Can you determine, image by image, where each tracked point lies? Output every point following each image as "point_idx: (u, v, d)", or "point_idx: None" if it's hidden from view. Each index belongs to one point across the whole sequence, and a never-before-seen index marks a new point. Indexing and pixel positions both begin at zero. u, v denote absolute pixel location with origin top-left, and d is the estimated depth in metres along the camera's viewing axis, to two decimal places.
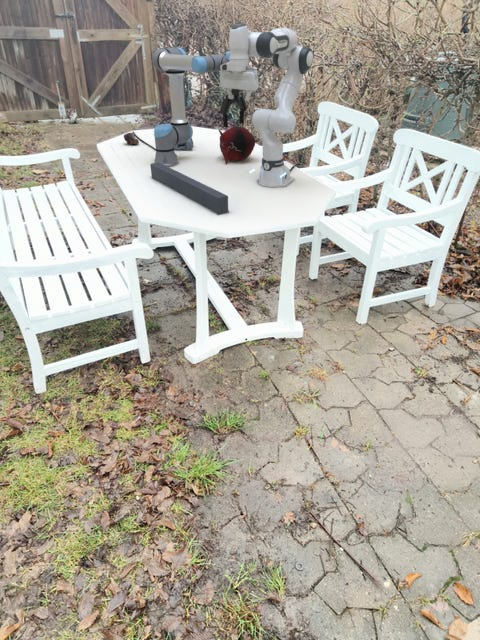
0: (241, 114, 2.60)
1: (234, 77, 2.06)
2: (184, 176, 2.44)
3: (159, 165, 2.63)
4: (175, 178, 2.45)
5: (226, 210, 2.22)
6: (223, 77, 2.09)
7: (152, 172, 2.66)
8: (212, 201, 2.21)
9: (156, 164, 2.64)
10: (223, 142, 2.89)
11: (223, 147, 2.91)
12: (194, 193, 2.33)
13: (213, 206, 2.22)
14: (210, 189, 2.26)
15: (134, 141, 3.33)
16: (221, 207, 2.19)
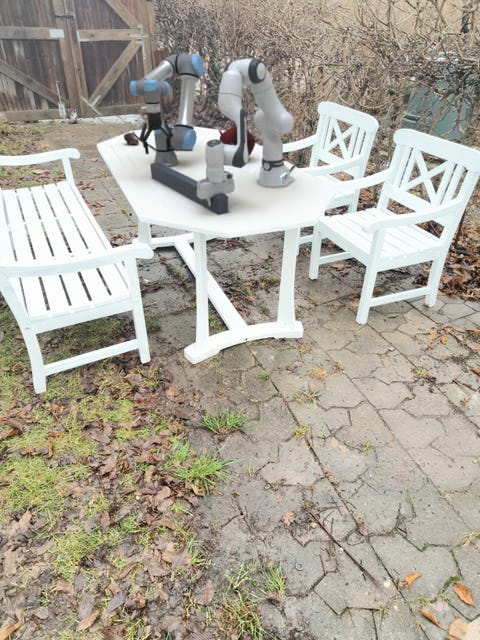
0: (167, 141, 2.58)
1: None
2: (184, 176, 2.44)
3: (159, 165, 2.62)
4: (175, 178, 2.45)
5: (226, 210, 2.22)
6: None
7: (152, 172, 2.66)
8: (212, 201, 2.21)
9: (156, 164, 2.64)
10: (223, 142, 2.89)
11: None
12: (194, 193, 2.33)
13: (213, 206, 2.22)
14: None
15: (134, 141, 3.33)
16: (221, 207, 2.19)
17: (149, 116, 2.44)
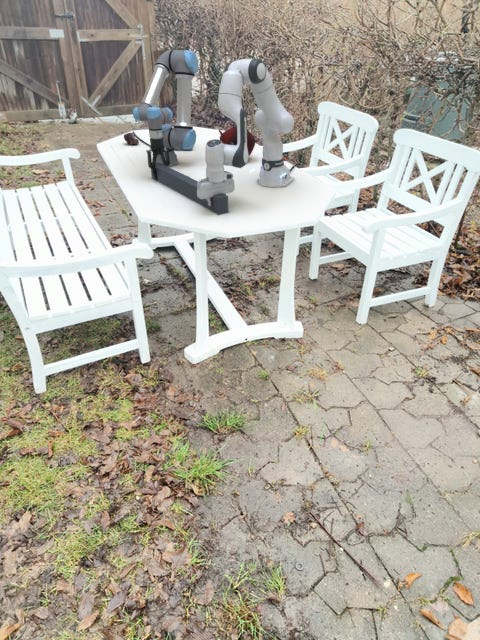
0: None
1: None
2: (184, 176, 2.44)
3: (159, 165, 2.62)
4: (175, 178, 2.45)
5: (226, 210, 2.22)
6: None
7: None
8: (212, 201, 2.21)
9: (156, 164, 2.64)
10: (223, 142, 2.89)
11: None
12: (194, 193, 2.33)
13: (213, 206, 2.22)
14: None
15: (134, 141, 3.33)
16: (221, 207, 2.19)
17: (152, 142, 2.52)
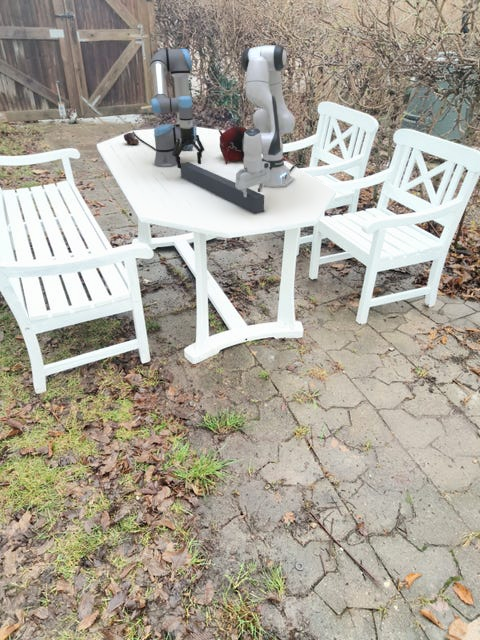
0: (198, 155, 2.63)
1: None
2: (216, 176, 2.44)
3: (189, 164, 2.63)
4: (207, 178, 2.45)
5: (262, 210, 2.22)
6: None
7: (182, 172, 2.67)
8: (248, 200, 2.21)
9: (186, 164, 2.64)
10: (223, 142, 2.89)
11: (223, 147, 2.91)
12: (228, 192, 2.34)
13: (249, 206, 2.22)
14: None
15: (134, 141, 3.33)
16: (257, 206, 2.19)
17: (182, 132, 2.49)
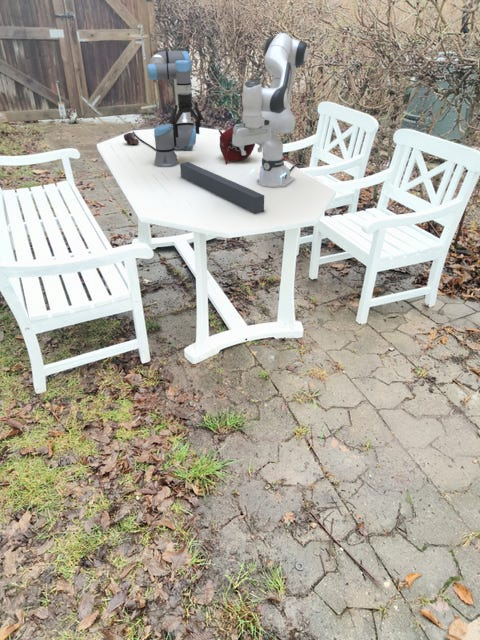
0: (196, 124, 2.53)
1: None
2: (216, 176, 2.44)
3: (189, 164, 2.63)
4: (207, 178, 2.45)
5: (262, 210, 2.22)
6: None
7: (182, 172, 2.67)
8: (248, 200, 2.21)
9: (186, 164, 2.64)
10: (223, 142, 2.89)
11: (223, 147, 2.91)
12: (228, 192, 2.34)
13: (249, 206, 2.22)
14: (246, 189, 2.26)
15: (134, 141, 3.33)
16: (257, 206, 2.19)
17: (180, 98, 2.39)
